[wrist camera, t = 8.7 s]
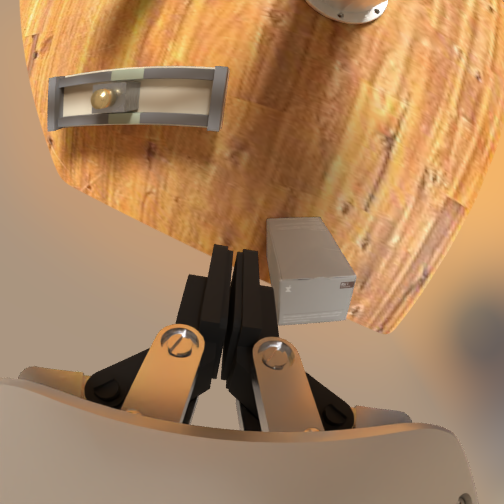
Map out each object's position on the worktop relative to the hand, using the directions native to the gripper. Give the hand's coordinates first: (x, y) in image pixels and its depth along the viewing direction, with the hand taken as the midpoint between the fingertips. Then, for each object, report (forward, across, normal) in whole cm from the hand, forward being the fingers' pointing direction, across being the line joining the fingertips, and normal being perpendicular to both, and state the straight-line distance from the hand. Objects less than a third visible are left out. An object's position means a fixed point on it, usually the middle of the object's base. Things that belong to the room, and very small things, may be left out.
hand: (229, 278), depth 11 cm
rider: (+22, +15, -5) cm, 27 cm away
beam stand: (+28, +14, -6) cm, 32 cm away
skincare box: (+28, -10, +11) cm, 32 cm away
